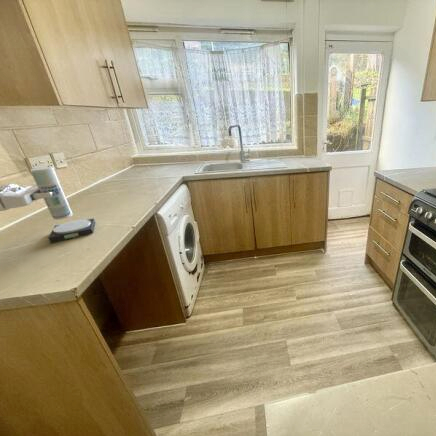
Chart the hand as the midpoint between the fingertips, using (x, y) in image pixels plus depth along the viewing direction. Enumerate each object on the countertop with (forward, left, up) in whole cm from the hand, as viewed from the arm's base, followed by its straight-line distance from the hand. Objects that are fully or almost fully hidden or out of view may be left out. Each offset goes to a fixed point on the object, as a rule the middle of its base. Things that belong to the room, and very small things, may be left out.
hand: (56, 191), depth 96 cm
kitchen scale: (-1, +5, -20) cm, 20 cm away
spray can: (-1, +1, -11) cm, 11 cm away
